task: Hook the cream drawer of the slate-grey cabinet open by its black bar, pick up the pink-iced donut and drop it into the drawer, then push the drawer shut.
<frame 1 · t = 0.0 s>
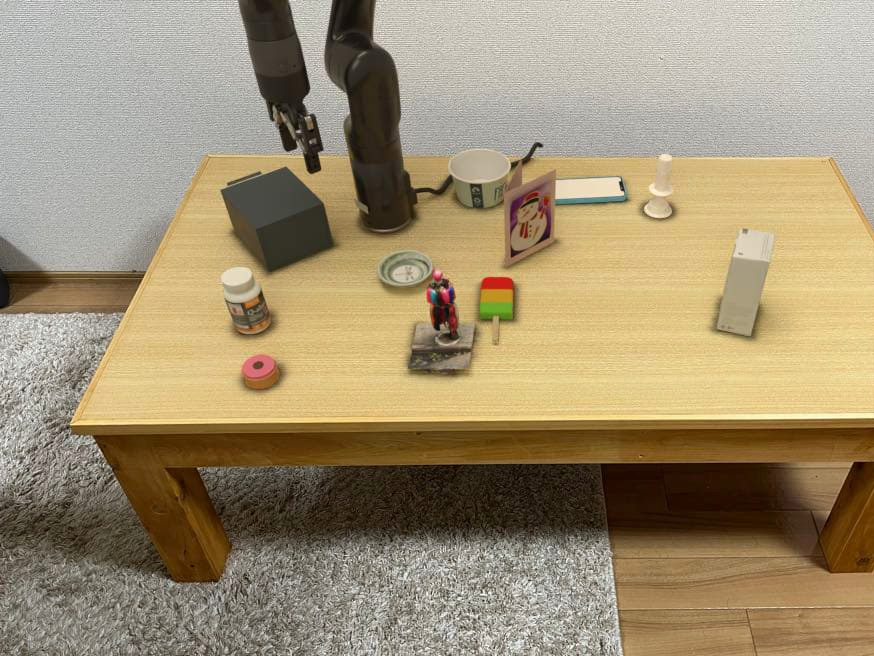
hand: (302, 160, 126), 17 cm above the table, tool pointing down, fingers open, 8 cm apart
donut: (262, 376, 117), on the table
smartphone: (586, 193, 152), on the table
food container: (480, 195, 151), on the table
drawer: (266, 206, 139), point 5 cm above the table, slide at 0.5 cm
pill bottle: (254, 324, 125), on the table
popsicle: (496, 314, 128), on the table
statue: (442, 351, 122), on the table
candle: (657, 211, 148), on the table
cabinet: (283, 239, 140), on the table
greeting card: (520, 247, 140), on the table
saucer: (406, 278, 134), on the table
cosmetic box: (735, 318, 128), on the table
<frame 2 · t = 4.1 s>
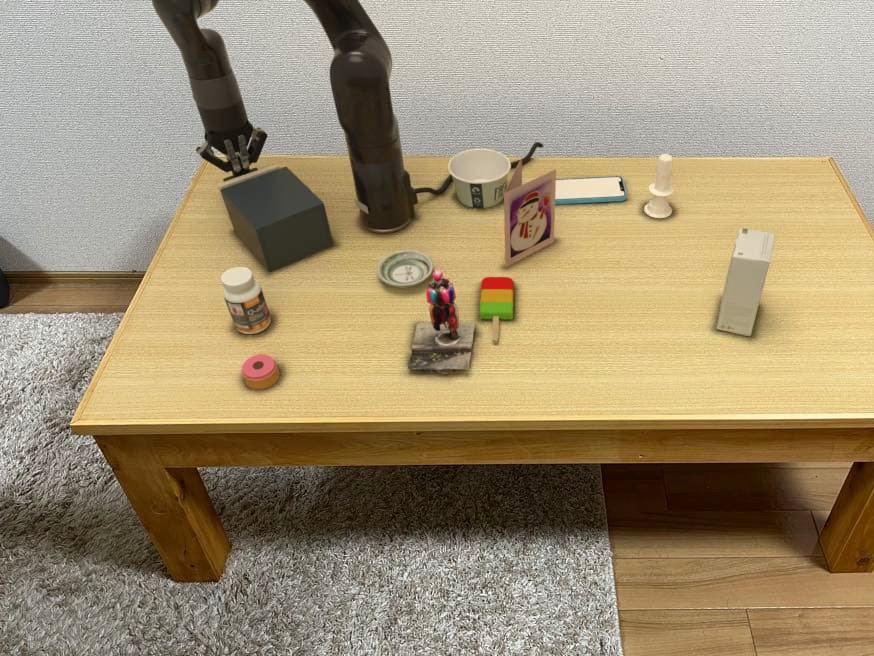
hand: (245, 185, 143), 5 cm above the table, tool pointing down, fingers closed
drawer: (262, 201, 140), point 5 cm above the table, slide at 2.2 cm
everything else where it was.
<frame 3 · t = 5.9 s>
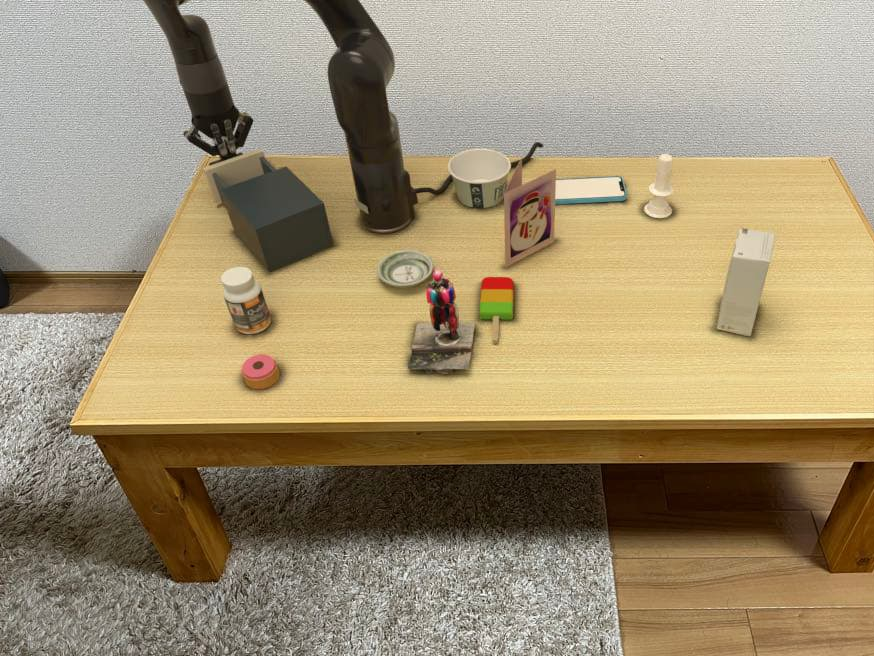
hand: (232, 169, 147), 5 cm above the table, tool pointing down, fingers closed
drawer: (246, 185, 144), point 5 cm above the table, slide at 8.9 cm
everything else where it was.
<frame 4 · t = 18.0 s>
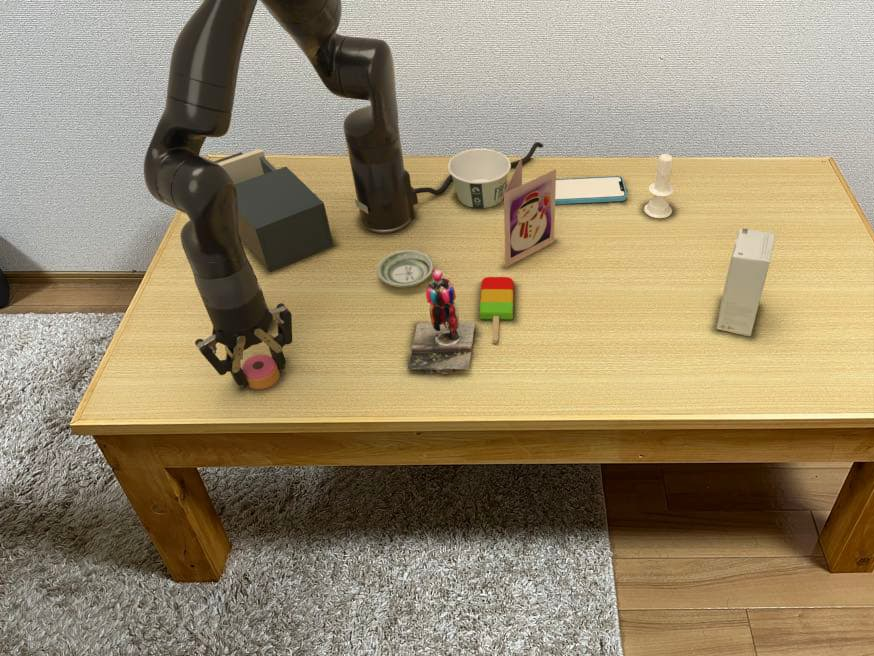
hand: (261, 374, 117), 0 cm above the table, tool pointing down, fingers closed on donut, 5 cm apart
donut: (262, 376, 117), on the table, touching gripper
everything else where it was.
when the fingers open (10 cm above the table, at t = 43.1 s): donut drops 7 cm, resting on drawer.
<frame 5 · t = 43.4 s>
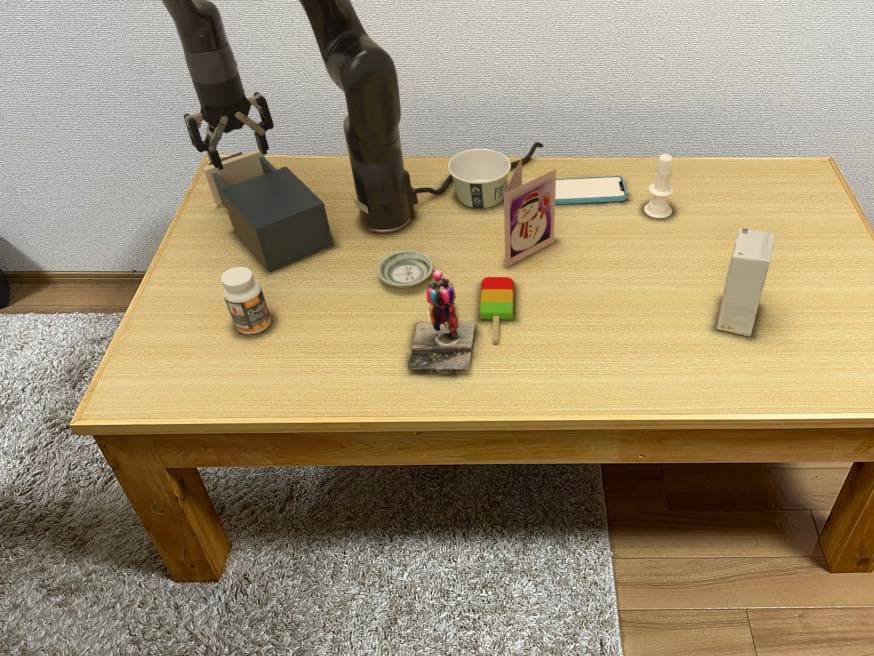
hand: (241, 160, 138), 11 cm above the table, tool pointing down, fingers open, 8 cm apart
donut: (252, 201, 145), point 2 cm above the table, touching drawer
drawer: (246, 185, 144), point 5 cm above the table, slide at 9.0 cm, touching donut
everything else where it was.
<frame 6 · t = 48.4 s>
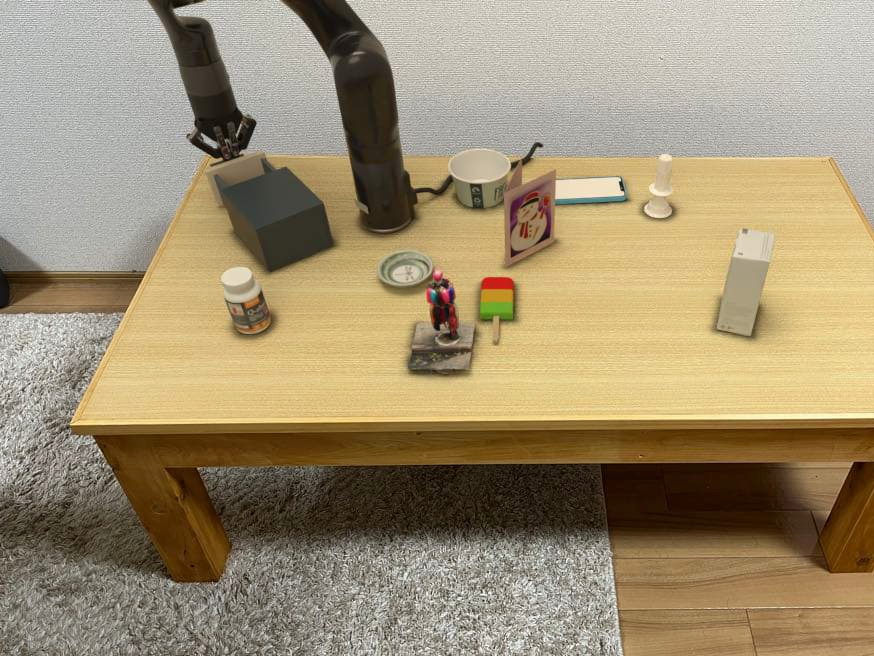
hand: (235, 172, 146), 5 cm above the table, tool pointing down, fingers closed
drawer: (248, 186, 143), point 5 cm above the table, slide at 8.3 cm, touching donut, gripper
everything else where it was.
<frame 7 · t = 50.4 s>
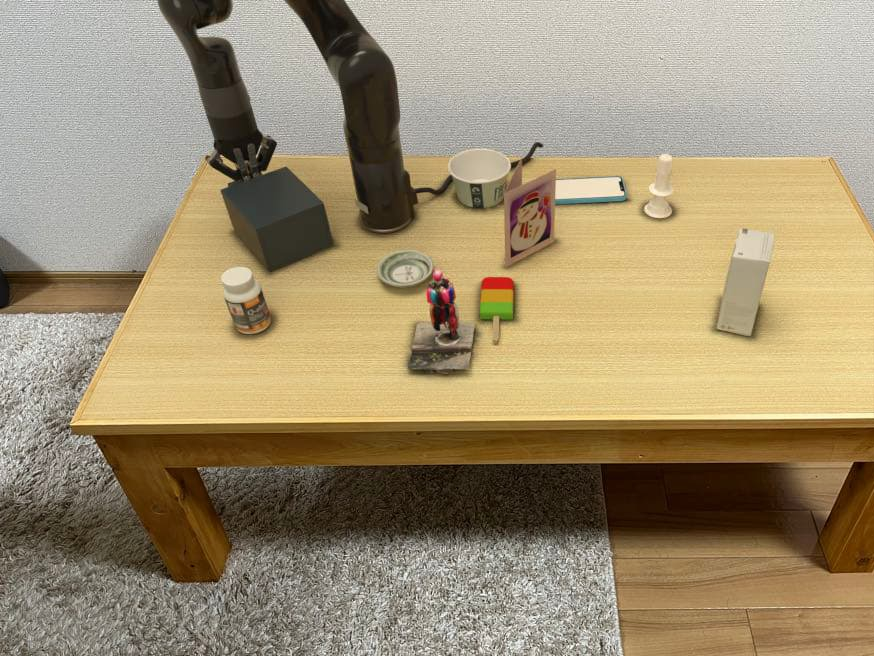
hand: (254, 194, 142), 4 cm above the table, tool pointing down, fingers closed
donut: (272, 223, 140), point 2 cm above the table, touching drawer
drawer: (266, 206, 139), point 5 cm above the table, slide at 0.3 cm, touching donut
everything else where it was.
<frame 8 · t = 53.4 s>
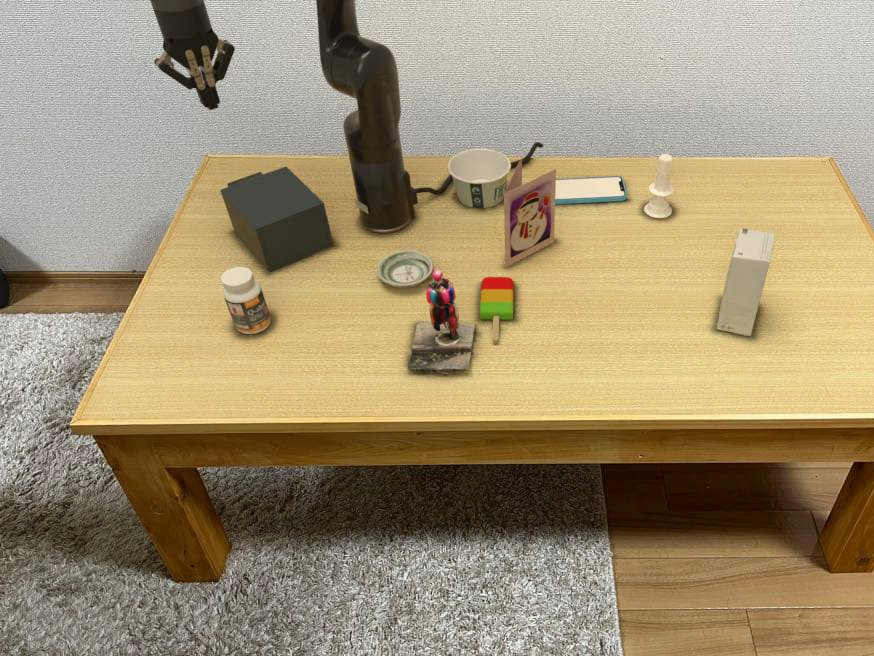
hand: (211, 107, 130), 21 cm above the table, tool pointing down, fingers closed
nothing on the table moved.
at the end: drawer pulled out 9.0 cm at the most during the clip, back to 0.3 cm at the end; donut inside the target area in the cabinet (2.9 cm from its centre), point 2.0 cm above the cabinet's base; drawer slide at 0.3 cm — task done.
